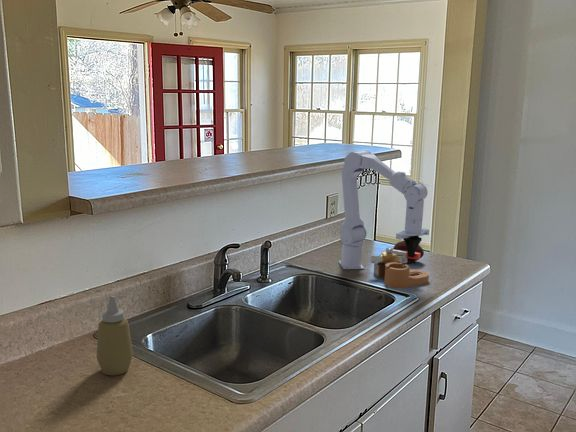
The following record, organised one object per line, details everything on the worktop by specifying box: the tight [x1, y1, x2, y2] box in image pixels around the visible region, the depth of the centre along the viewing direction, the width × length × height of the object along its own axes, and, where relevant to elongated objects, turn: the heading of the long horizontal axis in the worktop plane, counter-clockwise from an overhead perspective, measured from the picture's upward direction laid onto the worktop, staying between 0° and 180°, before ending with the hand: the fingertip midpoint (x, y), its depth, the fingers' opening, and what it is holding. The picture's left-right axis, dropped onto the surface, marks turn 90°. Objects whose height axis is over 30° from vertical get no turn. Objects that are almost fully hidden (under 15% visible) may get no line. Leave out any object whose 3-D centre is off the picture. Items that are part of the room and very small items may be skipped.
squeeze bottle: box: [96, 295, 134, 376], centre depth 125 cm, size 8×8×18 cm
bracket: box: [383, 262, 430, 289], centre depth 193 cm, size 18×8×7 cm, turn 122°
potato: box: [393, 240, 425, 264], centre depth 218 cm, size 12×11×8 cm
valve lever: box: [385, 247, 421, 261], centre depth 196 cm, size 12×2×2 cm, turn 57°
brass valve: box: [370, 251, 407, 279], centre depth 200 cm, size 6×13×8 cm, turn 97°
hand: (410, 256), depth 193 cm, fingers closed, pressing on valve lever
